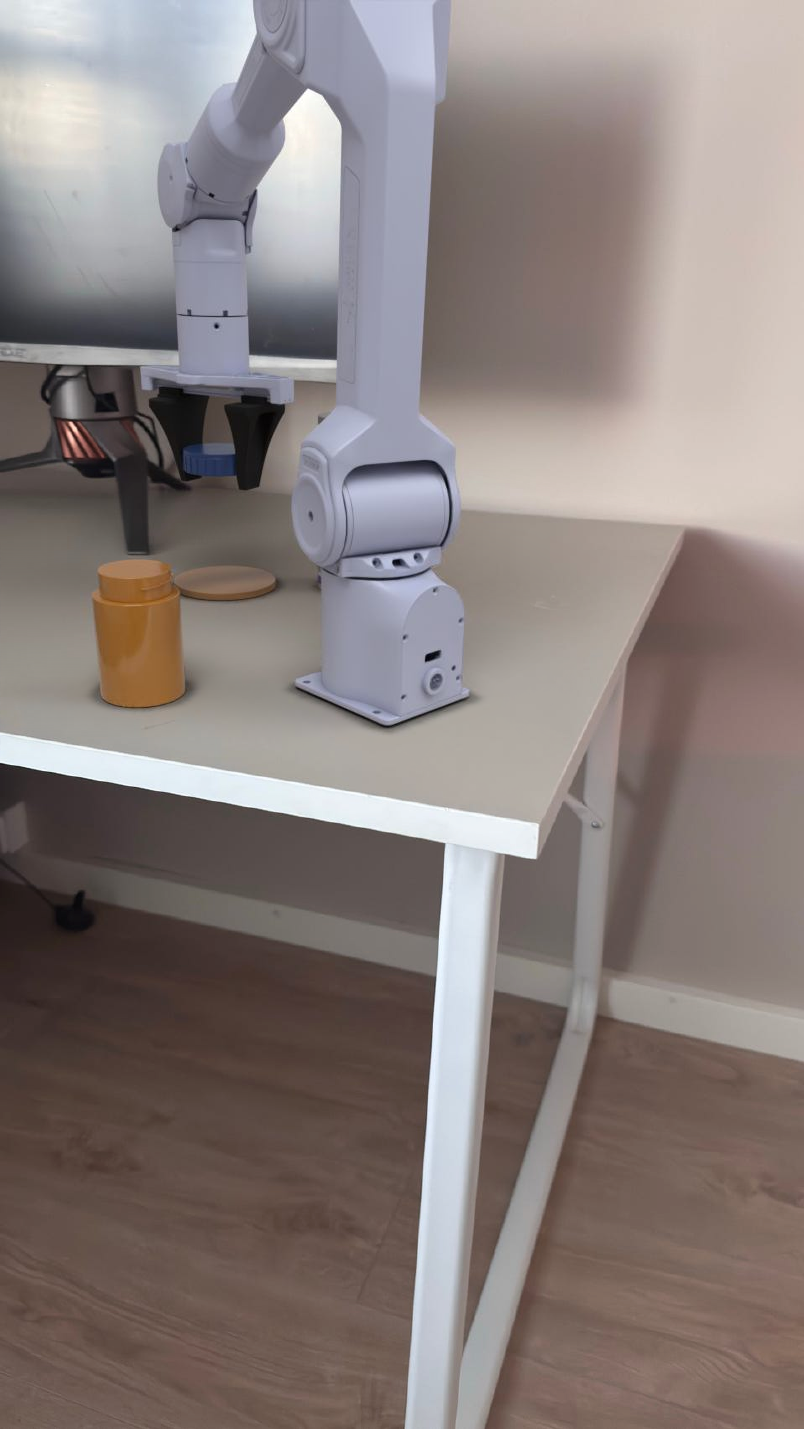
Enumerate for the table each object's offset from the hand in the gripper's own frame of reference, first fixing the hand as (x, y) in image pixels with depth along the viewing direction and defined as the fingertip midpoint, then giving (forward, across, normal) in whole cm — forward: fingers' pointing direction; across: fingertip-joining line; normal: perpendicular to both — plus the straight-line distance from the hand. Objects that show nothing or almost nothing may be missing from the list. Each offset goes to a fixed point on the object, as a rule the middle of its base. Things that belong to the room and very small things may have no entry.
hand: (219, 483), depth 92 cm
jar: (+9, +11, -23) cm, 27 cm away
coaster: (+9, 0, 0) cm, 9 cm away
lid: (-3, 0, 0) cm, 3 cm away
